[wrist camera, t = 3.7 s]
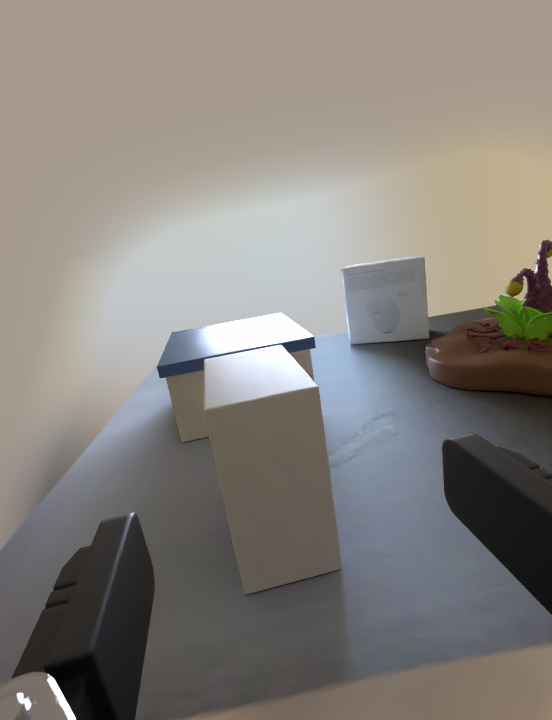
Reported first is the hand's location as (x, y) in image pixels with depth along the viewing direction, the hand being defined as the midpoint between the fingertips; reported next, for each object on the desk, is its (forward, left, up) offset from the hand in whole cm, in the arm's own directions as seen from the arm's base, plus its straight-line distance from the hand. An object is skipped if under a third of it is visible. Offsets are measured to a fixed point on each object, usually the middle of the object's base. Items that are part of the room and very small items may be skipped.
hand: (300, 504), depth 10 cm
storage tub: (0, +30, -8) cm, 31 cm away
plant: (+29, +24, -8) cm, 38 cm away
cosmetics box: (+22, +43, -8) cm, 49 cm away
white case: (0, +10, -8) cm, 13 cm away
